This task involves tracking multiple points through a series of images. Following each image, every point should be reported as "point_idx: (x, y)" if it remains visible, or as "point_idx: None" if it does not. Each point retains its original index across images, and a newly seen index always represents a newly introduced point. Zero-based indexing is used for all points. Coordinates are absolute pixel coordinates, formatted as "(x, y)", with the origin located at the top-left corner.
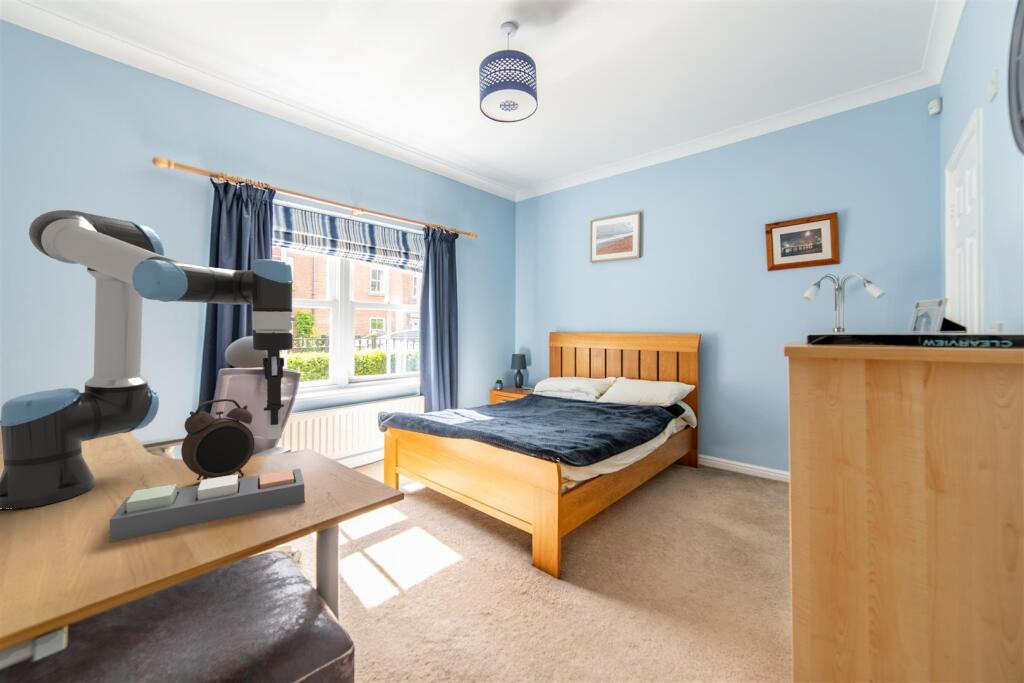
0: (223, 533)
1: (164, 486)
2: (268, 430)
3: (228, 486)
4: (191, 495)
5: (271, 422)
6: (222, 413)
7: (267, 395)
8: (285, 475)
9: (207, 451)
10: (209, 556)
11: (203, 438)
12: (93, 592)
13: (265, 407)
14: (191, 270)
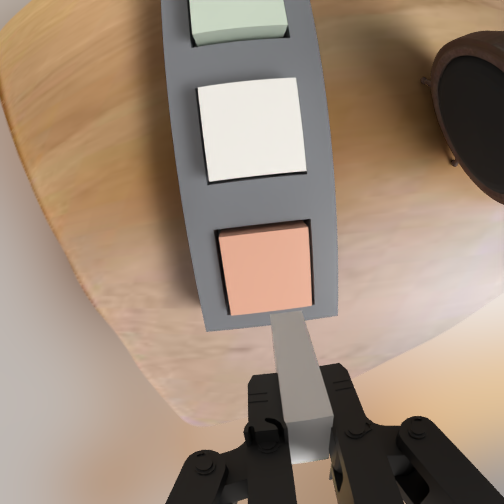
0: (112, 172)
1: (279, 3)
2: (274, 343)
3: (207, 161)
4: (242, 69)
5: (248, 388)
6: None
7: (354, 499)
8: (267, 294)
9: (468, 82)
10: (43, 176)
11: (499, 69)
12: (18, 64)
13: (284, 435)
14: None
